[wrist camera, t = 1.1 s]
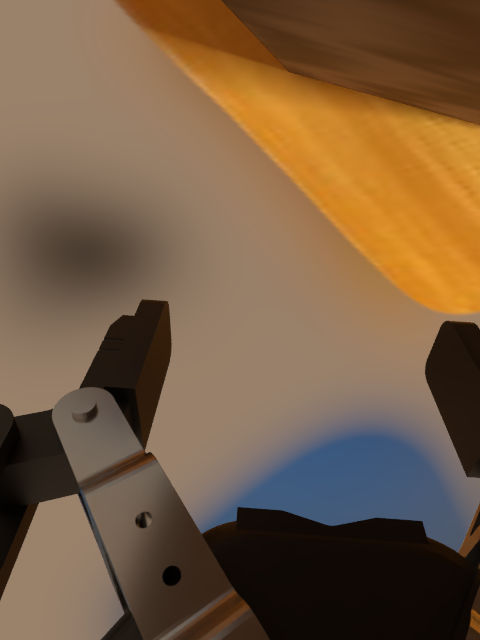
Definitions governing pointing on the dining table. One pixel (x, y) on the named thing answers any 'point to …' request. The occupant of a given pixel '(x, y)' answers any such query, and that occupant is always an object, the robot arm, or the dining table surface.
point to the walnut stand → (378, 47)
